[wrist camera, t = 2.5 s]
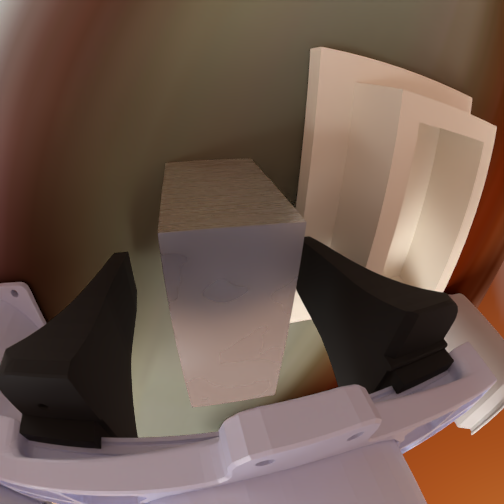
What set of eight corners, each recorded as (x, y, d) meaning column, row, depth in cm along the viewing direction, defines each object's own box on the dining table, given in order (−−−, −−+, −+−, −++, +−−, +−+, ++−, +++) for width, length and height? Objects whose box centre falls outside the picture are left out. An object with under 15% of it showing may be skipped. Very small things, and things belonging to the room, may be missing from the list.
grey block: (180, 309, 15) (191, 407, 11) (165, 162, 11) (157, 233, 6) (244, 302, 16) (274, 394, 11) (250, 157, 12) (306, 222, 7)
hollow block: (281, 311, 17) (304, 364, 14) (310, 48, 10) (365, 41, 6) (407, 287, 19) (439, 324, 16) (460, 94, 12) (513, 111, 9)
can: (389, 340, 23) (457, 449, 13) (446, 276, 20) (535, 378, 11) (419, 350, 26) (475, 434, 17) (466, 299, 24) (533, 379, 14)
